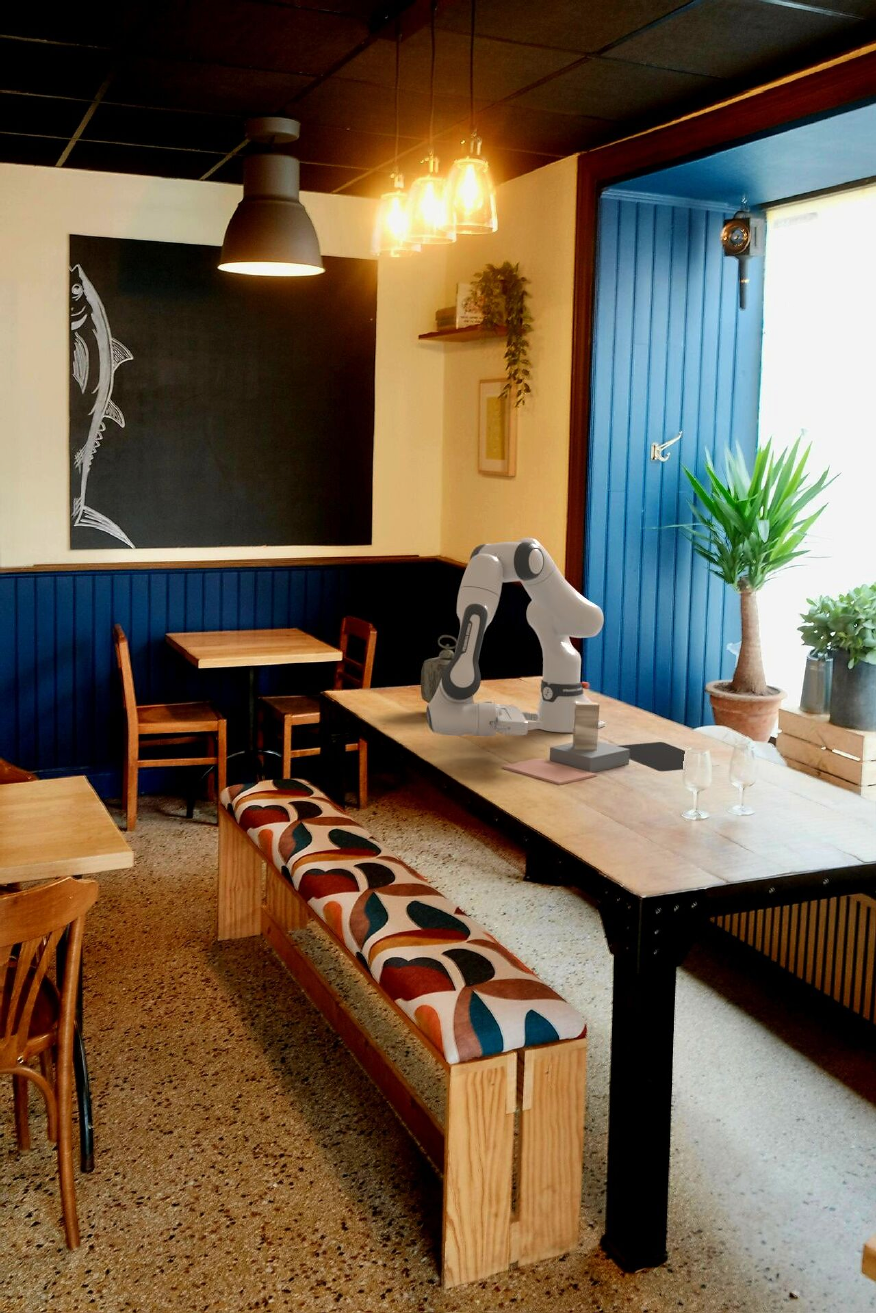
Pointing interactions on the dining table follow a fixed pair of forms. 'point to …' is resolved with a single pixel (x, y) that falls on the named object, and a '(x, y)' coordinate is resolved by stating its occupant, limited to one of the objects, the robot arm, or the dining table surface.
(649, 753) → the tablet
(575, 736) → the birch plaque
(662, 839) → the dining table surface
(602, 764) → the block
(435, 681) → the tabletop clock
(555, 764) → the terracotta mat
